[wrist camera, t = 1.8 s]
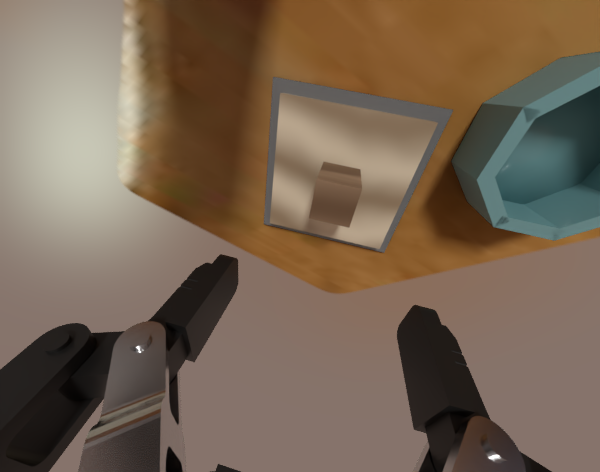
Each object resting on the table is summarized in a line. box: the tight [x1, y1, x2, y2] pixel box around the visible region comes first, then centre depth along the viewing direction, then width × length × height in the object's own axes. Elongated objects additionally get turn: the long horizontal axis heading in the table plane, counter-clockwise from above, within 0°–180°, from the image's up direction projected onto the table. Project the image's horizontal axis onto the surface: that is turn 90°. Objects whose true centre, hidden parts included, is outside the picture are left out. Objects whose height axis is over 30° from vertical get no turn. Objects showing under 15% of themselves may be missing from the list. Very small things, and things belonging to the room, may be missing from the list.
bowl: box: [451, 52, 600, 240], centre depth 16 cm, size 11×11×5 cm
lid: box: [270, 93, 438, 249], centre depth 20 cm, size 13×13×6 cm
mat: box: [264, 77, 453, 253], centre depth 22 cm, size 15×15×1 cm
